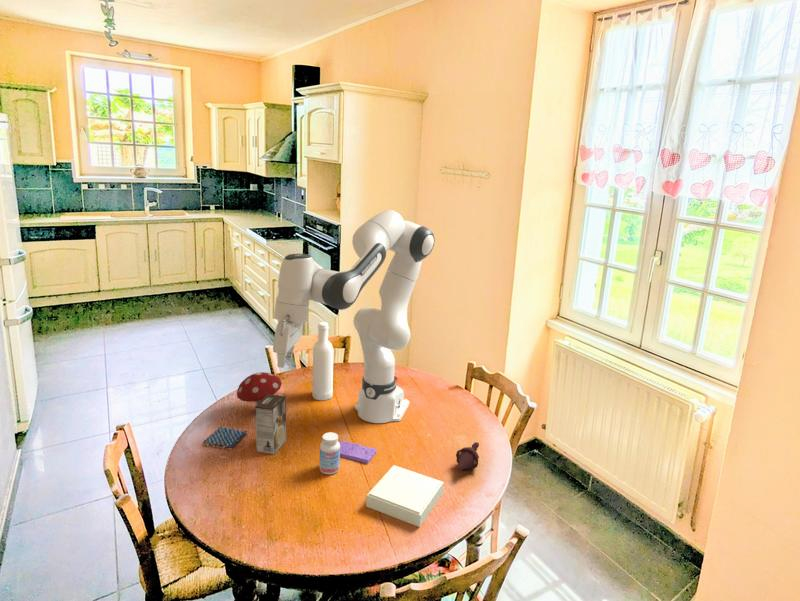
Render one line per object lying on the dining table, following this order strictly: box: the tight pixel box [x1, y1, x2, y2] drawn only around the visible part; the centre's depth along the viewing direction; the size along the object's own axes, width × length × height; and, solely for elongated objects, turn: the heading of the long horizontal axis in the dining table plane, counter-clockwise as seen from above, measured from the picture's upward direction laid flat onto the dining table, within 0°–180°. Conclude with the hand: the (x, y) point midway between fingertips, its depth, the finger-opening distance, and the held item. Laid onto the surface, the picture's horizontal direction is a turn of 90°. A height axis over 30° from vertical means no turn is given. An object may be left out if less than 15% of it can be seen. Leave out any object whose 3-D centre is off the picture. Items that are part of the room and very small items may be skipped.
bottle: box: [311, 321, 334, 401], centre depth 194 cm, size 8×8×30 cm
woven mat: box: [202, 426, 248, 451], centre depth 166 cm, size 10×11×2 cm
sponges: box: [339, 439, 377, 465], centre depth 162 cm, size 7×13×2 cm, turn 70°
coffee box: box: [254, 394, 287, 455], centre depth 162 cm, size 9×6×16 cm
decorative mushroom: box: [236, 371, 283, 406], centre depth 182 cm, size 16×16×15 cm
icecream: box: [455, 441, 480, 471], centre depth 157 cm, size 7×7×15 cm
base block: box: [365, 464, 445, 528], centre depth 141 cm, size 16×16×4 cm
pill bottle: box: [319, 431, 341, 475], centre depth 152 cm, size 6×6×11 cm
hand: (284, 362), depth 139 cm, fingers open, 8 cm apart
